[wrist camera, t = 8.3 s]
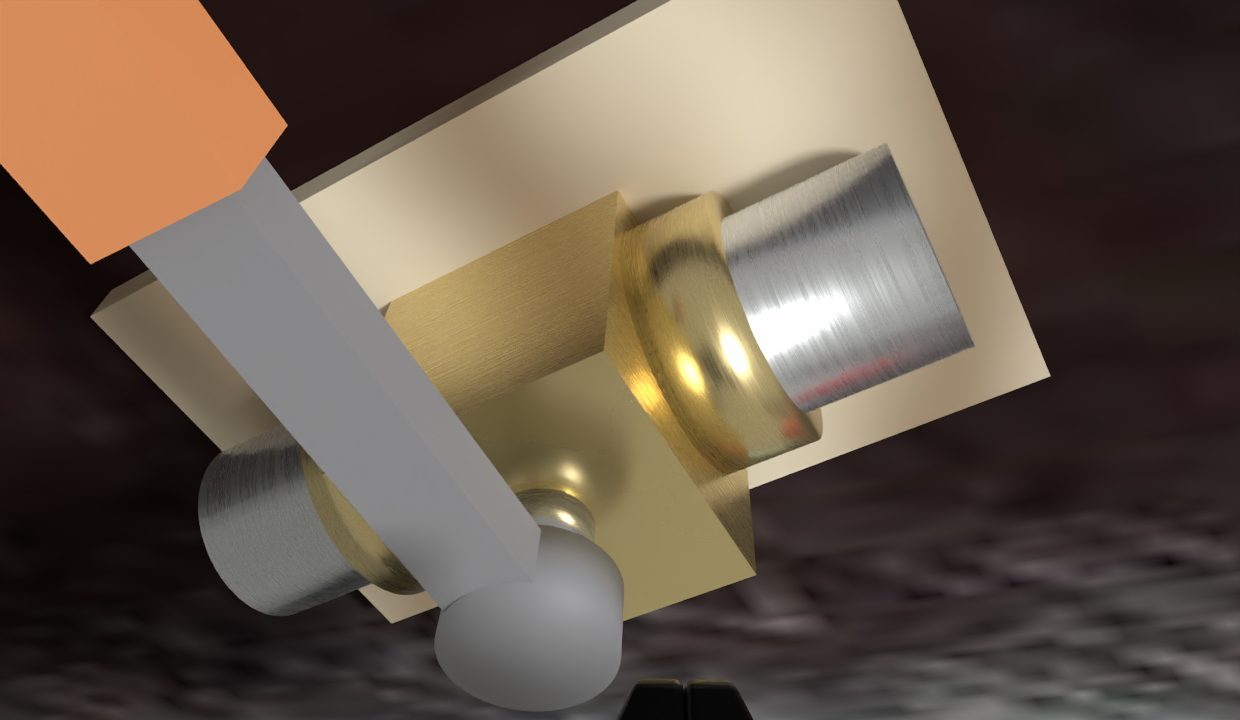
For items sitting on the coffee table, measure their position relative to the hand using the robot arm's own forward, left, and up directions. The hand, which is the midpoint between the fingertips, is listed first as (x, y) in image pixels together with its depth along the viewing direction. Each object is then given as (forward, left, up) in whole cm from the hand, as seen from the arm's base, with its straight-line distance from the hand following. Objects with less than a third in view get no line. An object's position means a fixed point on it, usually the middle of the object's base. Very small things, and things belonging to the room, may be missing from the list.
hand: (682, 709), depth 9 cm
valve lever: (-4, +3, -5) cm, 7 cm away
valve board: (-4, -3, -12) cm, 13 cm away
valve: (-4, -3, -12) cm, 13 cm away
